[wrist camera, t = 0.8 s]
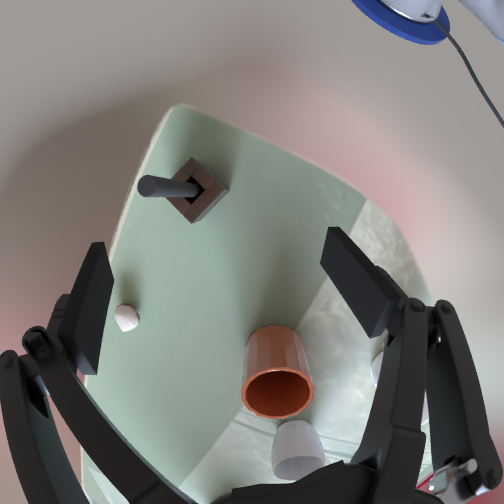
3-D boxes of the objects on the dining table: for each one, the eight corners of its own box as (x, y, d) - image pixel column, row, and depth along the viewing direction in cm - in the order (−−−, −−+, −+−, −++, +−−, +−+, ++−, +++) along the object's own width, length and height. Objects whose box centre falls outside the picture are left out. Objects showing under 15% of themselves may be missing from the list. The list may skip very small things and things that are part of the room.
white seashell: (144, 309, 39) (138, 315, 37) (137, 334, 40) (131, 341, 38) (121, 297, 39) (114, 302, 37) (115, 322, 40) (108, 328, 38)
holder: (229, 190, 36) (224, 189, 31) (200, 220, 37) (191, 223, 32) (200, 162, 35) (191, 156, 30) (172, 192, 36) (159, 191, 31)
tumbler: (312, 334, 39) (326, 377, 29) (288, 377, 41) (294, 424, 30) (258, 316, 39) (257, 358, 28) (238, 362, 41) (231, 408, 30)
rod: (207, 187, 36) (159, 178, 18) (203, 198, 36) (152, 200, 18) (196, 183, 36) (141, 172, 18) (192, 194, 36) (134, 193, 18)
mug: (270, 416, 43) (271, 457, 33) (319, 412, 42) (329, 452, 33) (271, 454, 45) (271, 490, 35) (313, 450, 45) (319, 486, 35)
